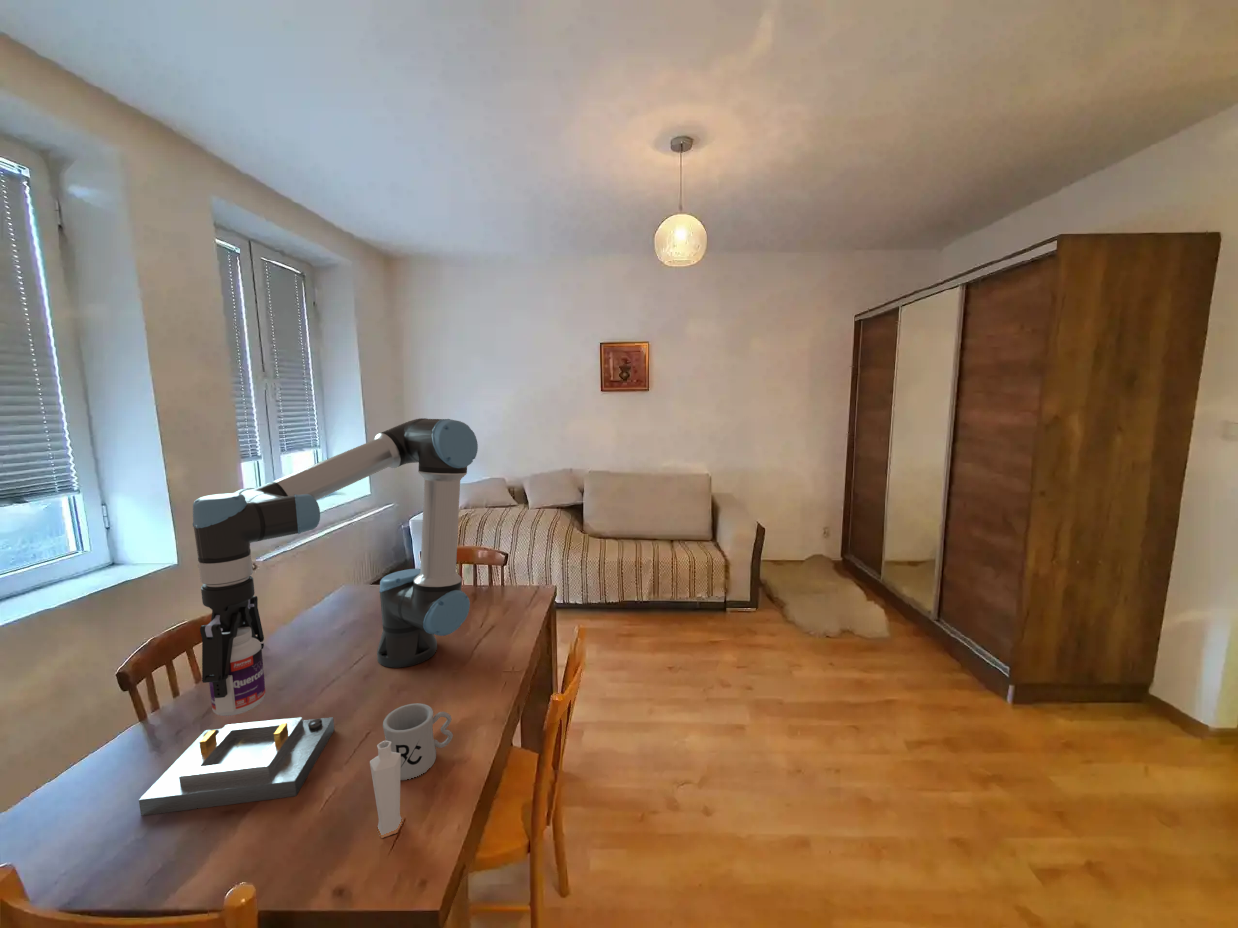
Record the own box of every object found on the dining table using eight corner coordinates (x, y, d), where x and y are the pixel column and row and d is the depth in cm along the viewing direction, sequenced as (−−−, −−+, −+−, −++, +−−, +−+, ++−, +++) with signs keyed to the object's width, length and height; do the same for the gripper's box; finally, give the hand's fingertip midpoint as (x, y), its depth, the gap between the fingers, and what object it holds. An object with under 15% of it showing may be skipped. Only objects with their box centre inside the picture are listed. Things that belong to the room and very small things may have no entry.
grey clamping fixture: (334, 730, 107) (331, 697, 106) (296, 795, 90) (292, 757, 89) (207, 743, 103) (202, 709, 102) (141, 815, 86) (135, 775, 84)
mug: (386, 789, 91) (383, 738, 90) (384, 757, 99) (380, 710, 98) (457, 766, 97) (455, 718, 95) (449, 737, 105) (447, 693, 103)
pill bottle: (237, 721, 90) (229, 645, 88) (201, 715, 91) (192, 640, 89) (276, 695, 98) (270, 624, 96) (242, 690, 99) (235, 621, 97)
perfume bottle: (380, 817, 85) (374, 735, 83) (407, 815, 85) (401, 734, 83) (369, 841, 81) (362, 755, 79) (397, 839, 81) (391, 753, 79)
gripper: (236, 562, 101) (247, 668, 104) (162, 604, 80) (179, 735, 83) (278, 560, 102) (287, 665, 105) (215, 601, 82) (230, 730, 85)
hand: (239, 696), depth 94 cm, fingers closed on pill bottle, 8 cm apart
